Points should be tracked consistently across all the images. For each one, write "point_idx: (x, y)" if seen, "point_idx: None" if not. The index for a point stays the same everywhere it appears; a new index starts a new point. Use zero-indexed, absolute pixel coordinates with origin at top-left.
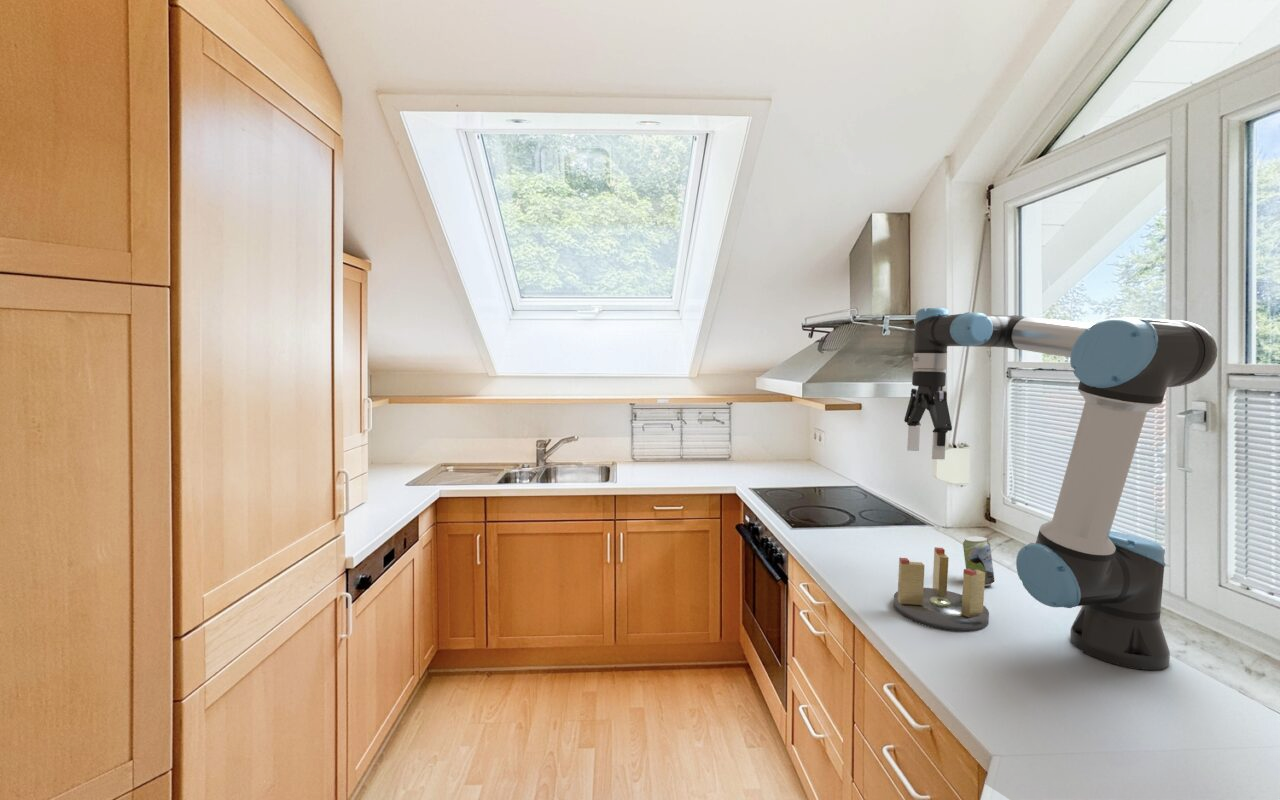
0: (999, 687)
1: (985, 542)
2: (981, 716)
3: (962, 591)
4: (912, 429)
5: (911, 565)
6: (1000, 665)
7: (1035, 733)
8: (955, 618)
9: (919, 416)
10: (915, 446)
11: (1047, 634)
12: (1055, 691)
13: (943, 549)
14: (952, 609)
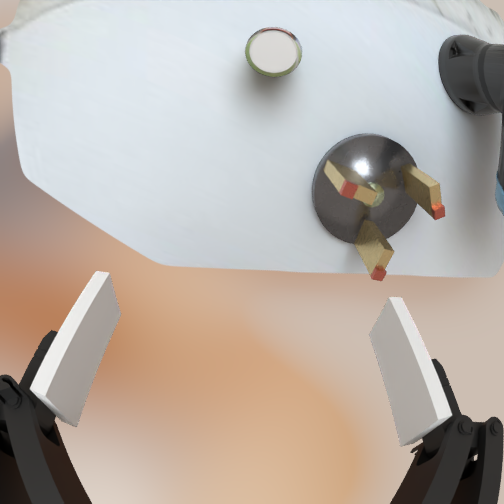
0: (474, 235)
1: (297, 45)
2: (481, 266)
3: (420, 205)
4: (74, 401)
5: (385, 265)
6: (461, 210)
7: (499, 248)
8: (408, 204)
9: (65, 487)
10: (105, 306)
11: (436, 106)
12: (490, 199)
13: (355, 186)
14: (389, 190)
